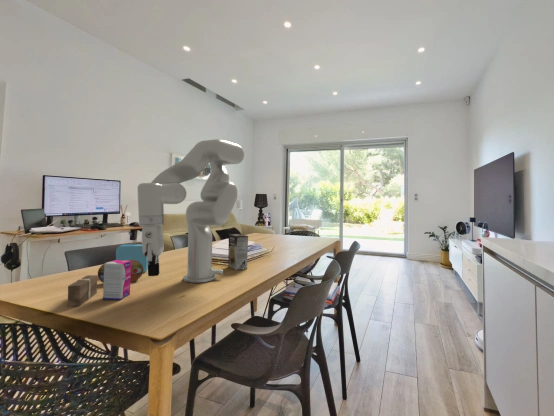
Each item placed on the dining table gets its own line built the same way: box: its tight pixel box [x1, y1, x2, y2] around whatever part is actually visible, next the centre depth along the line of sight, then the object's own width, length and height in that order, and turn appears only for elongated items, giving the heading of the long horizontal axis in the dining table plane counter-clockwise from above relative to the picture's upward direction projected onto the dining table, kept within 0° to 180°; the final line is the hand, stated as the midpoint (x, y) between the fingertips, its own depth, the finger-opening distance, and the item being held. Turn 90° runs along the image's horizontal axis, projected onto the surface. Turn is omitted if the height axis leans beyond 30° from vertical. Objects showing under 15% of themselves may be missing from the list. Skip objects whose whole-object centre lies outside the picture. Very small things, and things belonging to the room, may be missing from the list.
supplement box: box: [102, 259, 131, 301], centre depth 87 cm, size 6×6×12 cm
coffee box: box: [227, 233, 249, 271], centre depth 132 cm, size 9×6×16 cm
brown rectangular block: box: [67, 274, 98, 308], centre depth 85 cm, size 3×12×6 cm, turn 13°
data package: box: [115, 243, 148, 274], centre depth 119 cm, size 12×4×12 cm, turn 105°
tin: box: [97, 260, 144, 284], centre depth 104 cm, size 15×3×8 cm, turn 117°
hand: (153, 275), depth 90 cm, fingers closed
